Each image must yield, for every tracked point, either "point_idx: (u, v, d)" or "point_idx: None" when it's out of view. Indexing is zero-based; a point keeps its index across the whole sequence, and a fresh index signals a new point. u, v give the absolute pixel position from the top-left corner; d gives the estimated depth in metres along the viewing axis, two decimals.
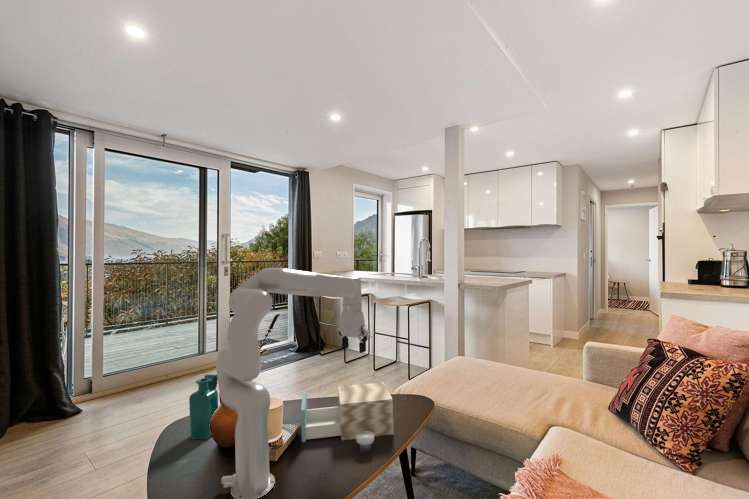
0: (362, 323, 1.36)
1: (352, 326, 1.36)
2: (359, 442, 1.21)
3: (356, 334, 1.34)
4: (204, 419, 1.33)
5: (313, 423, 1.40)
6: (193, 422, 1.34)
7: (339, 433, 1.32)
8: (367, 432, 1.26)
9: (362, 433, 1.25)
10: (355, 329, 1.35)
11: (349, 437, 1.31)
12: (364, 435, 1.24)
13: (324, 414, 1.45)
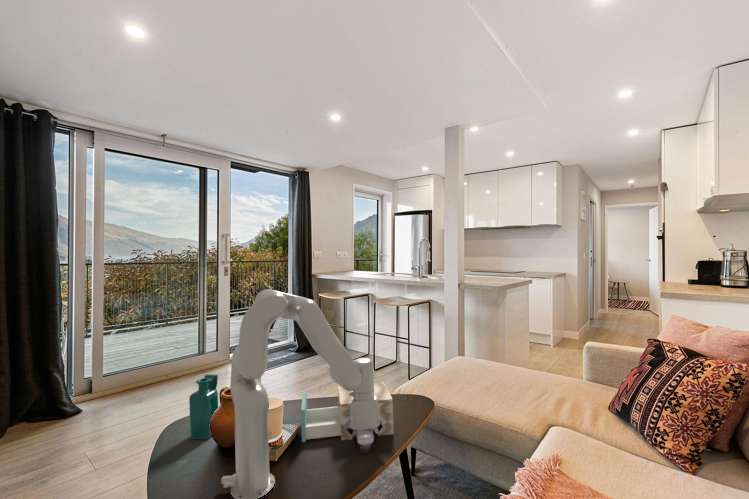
0: None
1: (372, 416, 1.21)
2: (359, 442, 1.21)
3: (377, 423, 1.22)
4: (204, 419, 1.33)
5: (313, 423, 1.40)
6: (193, 422, 1.34)
7: (339, 433, 1.32)
8: (366, 432, 1.26)
9: (362, 433, 1.25)
10: (376, 418, 1.22)
11: (349, 437, 1.31)
12: (364, 435, 1.24)
13: (324, 414, 1.45)
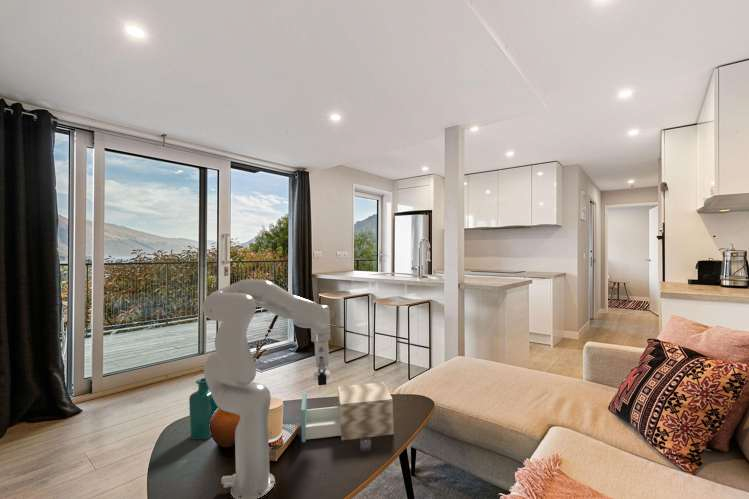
0: None
1: None
2: (327, 377, 1.36)
3: None
4: (204, 419, 1.33)
5: (313, 423, 1.40)
6: (193, 422, 1.34)
7: (339, 433, 1.32)
8: (317, 372, 1.39)
9: None
10: None
11: (349, 437, 1.31)
12: None
13: (324, 414, 1.45)
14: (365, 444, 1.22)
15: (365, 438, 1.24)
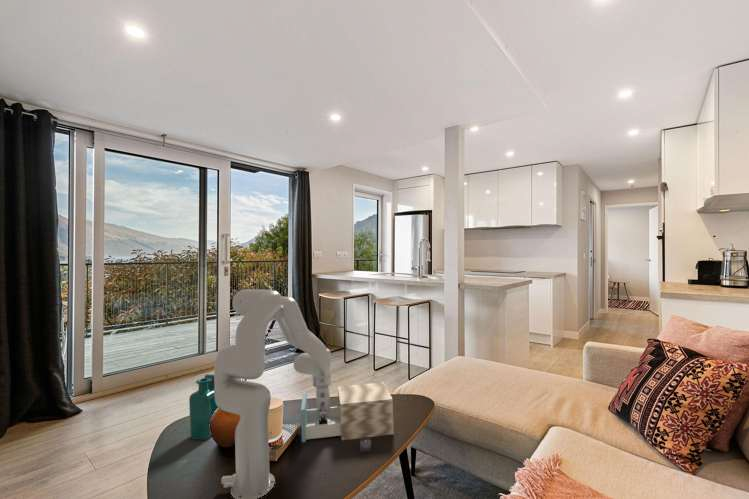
0: None
1: None
2: None
3: None
4: (204, 419, 1.33)
5: (313, 423, 1.40)
6: (193, 422, 1.34)
7: (339, 433, 1.32)
8: (318, 421, 1.38)
9: None
10: None
11: (349, 437, 1.31)
12: None
13: None
14: (365, 444, 1.22)
15: (365, 438, 1.24)
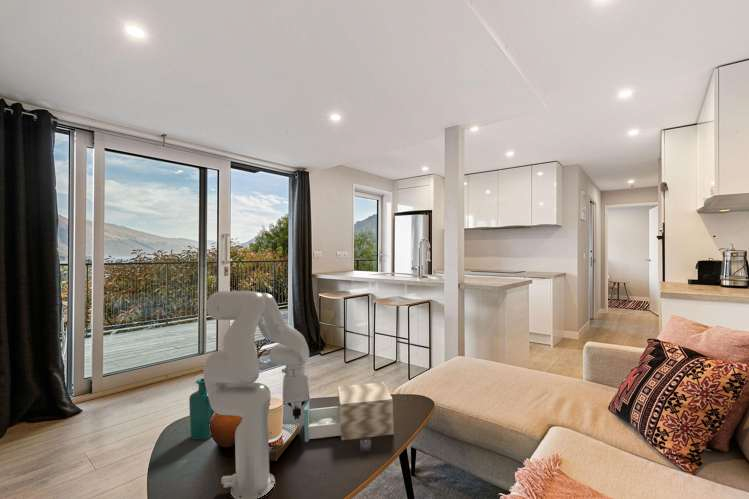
0: None
1: (301, 390, 1.34)
2: None
3: (307, 397, 1.35)
4: (204, 419, 1.33)
5: (316, 423, 1.41)
6: (193, 422, 1.34)
7: None
8: (320, 421, 1.38)
9: (322, 423, 1.37)
10: (305, 392, 1.34)
11: (349, 437, 1.31)
12: (325, 422, 1.38)
13: (327, 414, 1.45)
14: (365, 444, 1.22)
15: (365, 438, 1.24)
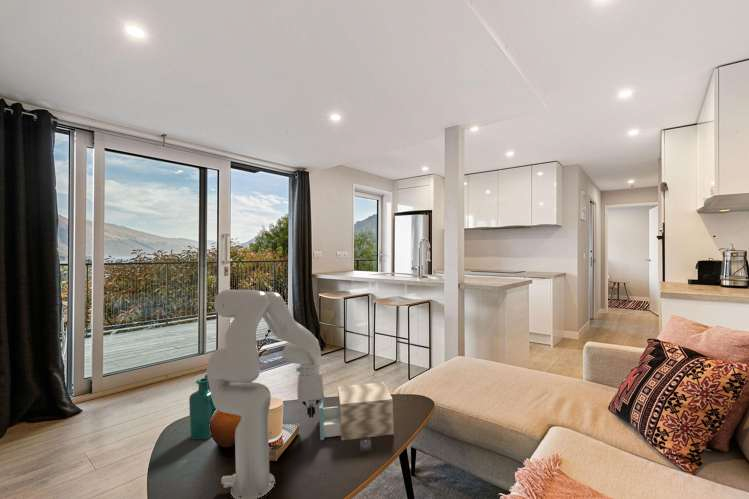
0: None
1: (316, 389, 1.35)
2: None
3: (321, 396, 1.35)
4: (204, 419, 1.33)
5: (330, 421, 1.41)
6: (193, 422, 1.34)
7: None
8: (335, 420, 1.39)
9: (336, 421, 1.38)
10: (320, 391, 1.35)
11: (349, 437, 1.31)
12: (340, 420, 1.39)
13: (340, 412, 1.46)
14: (365, 444, 1.22)
15: (365, 438, 1.24)
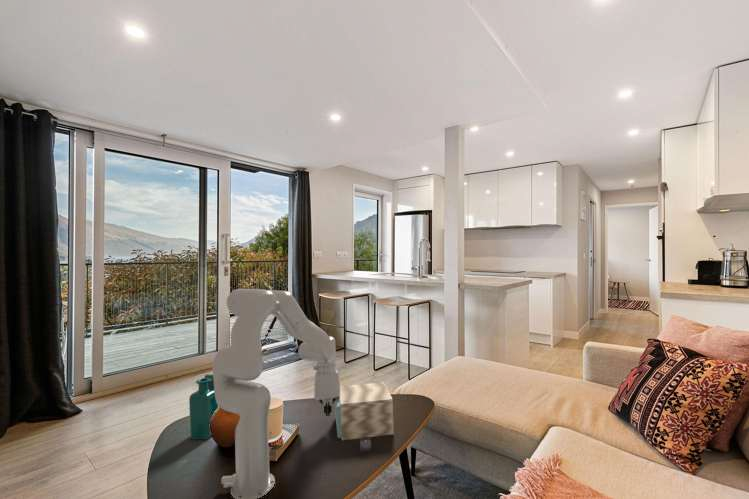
0: None
1: (333, 387, 1.36)
2: None
3: (338, 394, 1.36)
4: (204, 419, 1.33)
5: None
6: (193, 422, 1.34)
7: None
8: None
9: None
10: (337, 389, 1.36)
11: (349, 437, 1.31)
12: None
13: None
14: (365, 444, 1.22)
15: (365, 438, 1.24)
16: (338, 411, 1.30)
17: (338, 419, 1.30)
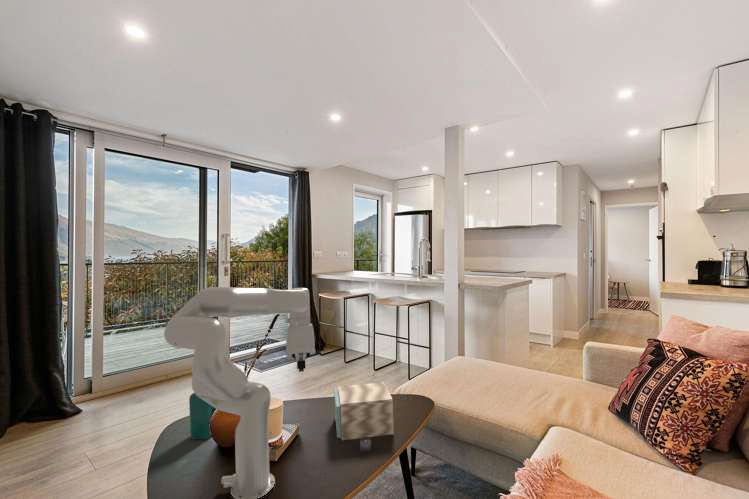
0: None
1: (306, 341, 1.27)
2: None
3: (312, 348, 1.27)
4: (204, 419, 1.33)
5: None
6: (193, 422, 1.34)
7: None
8: None
9: None
10: (310, 343, 1.27)
11: (349, 437, 1.31)
12: None
13: None
14: (365, 444, 1.22)
15: (365, 438, 1.24)
16: (338, 411, 1.30)
17: (338, 419, 1.30)
